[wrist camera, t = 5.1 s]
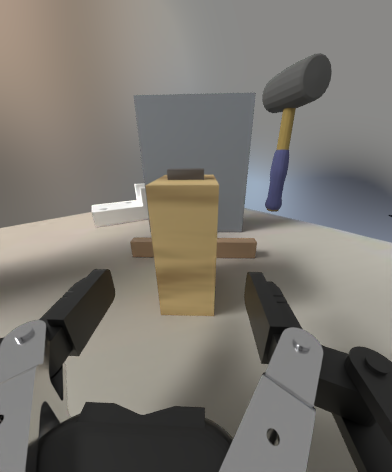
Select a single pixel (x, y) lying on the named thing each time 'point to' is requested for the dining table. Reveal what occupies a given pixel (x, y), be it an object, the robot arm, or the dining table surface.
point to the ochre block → (184, 240)
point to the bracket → (122, 210)
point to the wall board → (200, 153)
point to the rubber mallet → (292, 111)
